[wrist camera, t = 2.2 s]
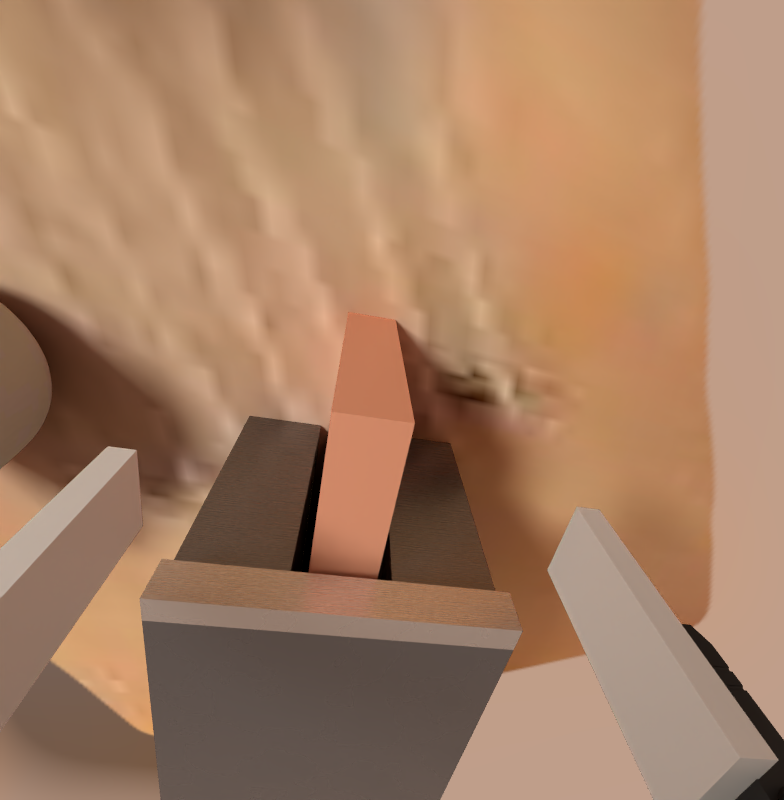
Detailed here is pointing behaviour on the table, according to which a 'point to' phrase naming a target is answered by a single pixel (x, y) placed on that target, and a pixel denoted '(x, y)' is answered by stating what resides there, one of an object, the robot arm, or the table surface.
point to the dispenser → (320, 638)
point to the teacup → (20, 386)
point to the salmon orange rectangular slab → (363, 451)
